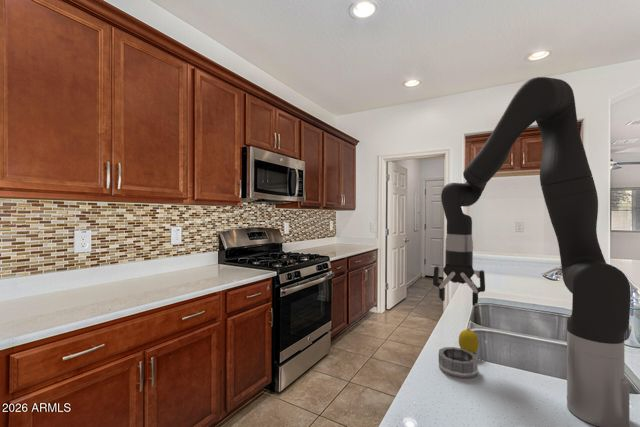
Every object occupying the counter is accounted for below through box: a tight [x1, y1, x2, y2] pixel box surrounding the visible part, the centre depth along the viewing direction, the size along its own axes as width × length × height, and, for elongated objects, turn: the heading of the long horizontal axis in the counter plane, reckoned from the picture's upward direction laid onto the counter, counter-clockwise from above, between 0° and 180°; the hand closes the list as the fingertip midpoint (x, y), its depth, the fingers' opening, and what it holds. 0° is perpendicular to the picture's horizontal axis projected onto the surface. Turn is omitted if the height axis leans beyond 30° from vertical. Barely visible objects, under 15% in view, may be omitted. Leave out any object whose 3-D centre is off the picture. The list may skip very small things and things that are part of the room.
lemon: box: [458, 328, 480, 354], centre depth 94 cm, size 6×6×8 cm
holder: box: [438, 346, 479, 380], centre depth 85 cm, size 10×10×4 cm
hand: (458, 302), depth 92 cm, fingers open, 8 cm apart
